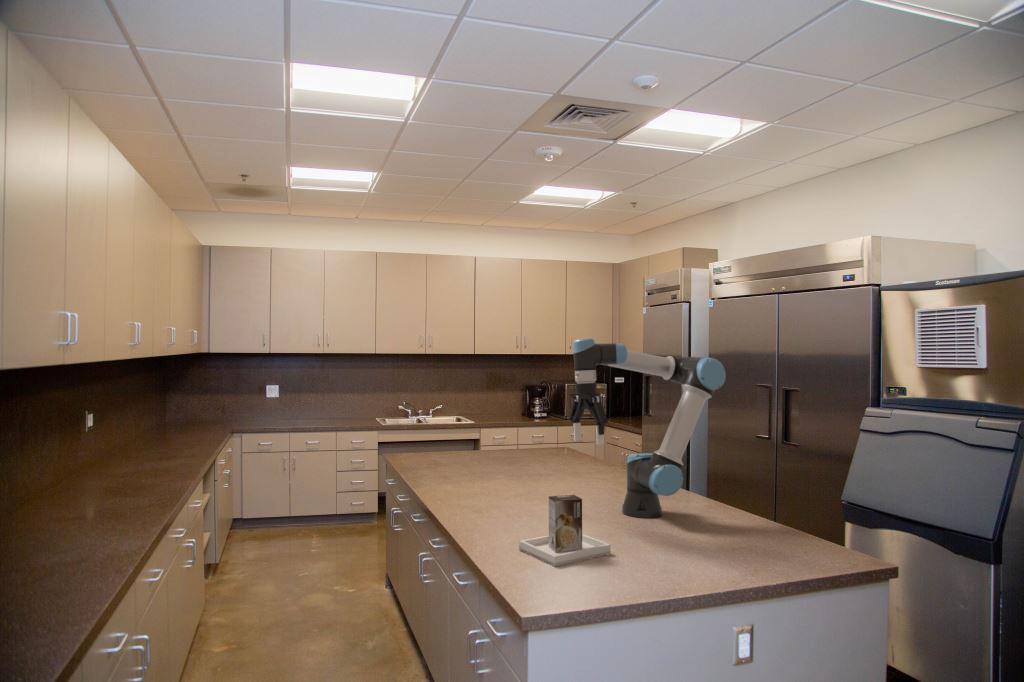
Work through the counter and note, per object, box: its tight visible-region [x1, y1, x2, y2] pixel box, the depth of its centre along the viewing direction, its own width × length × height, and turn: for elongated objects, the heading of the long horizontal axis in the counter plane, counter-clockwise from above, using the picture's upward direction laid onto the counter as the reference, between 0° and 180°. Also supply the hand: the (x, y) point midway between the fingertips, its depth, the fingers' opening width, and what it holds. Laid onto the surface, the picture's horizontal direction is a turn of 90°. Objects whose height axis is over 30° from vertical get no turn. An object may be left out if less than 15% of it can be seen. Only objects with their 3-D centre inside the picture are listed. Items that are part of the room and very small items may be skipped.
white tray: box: [518, 533, 612, 568], centre depth 205 cm, size 18×22×3 cm
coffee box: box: [548, 494, 583, 553], centre depth 205 cm, size 9×6×16 cm
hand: (588, 442), depth 232 cm, fingers open, 13 cm apart
